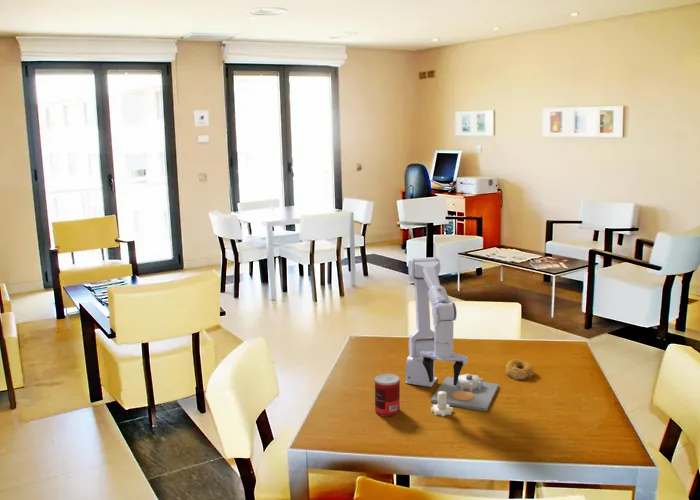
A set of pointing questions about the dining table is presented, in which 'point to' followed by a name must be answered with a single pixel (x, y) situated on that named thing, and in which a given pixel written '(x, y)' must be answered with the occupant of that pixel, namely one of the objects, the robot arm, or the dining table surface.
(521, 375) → the bagel
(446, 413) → the planet gear
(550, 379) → the dining table surface
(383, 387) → the canned food
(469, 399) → the plate
